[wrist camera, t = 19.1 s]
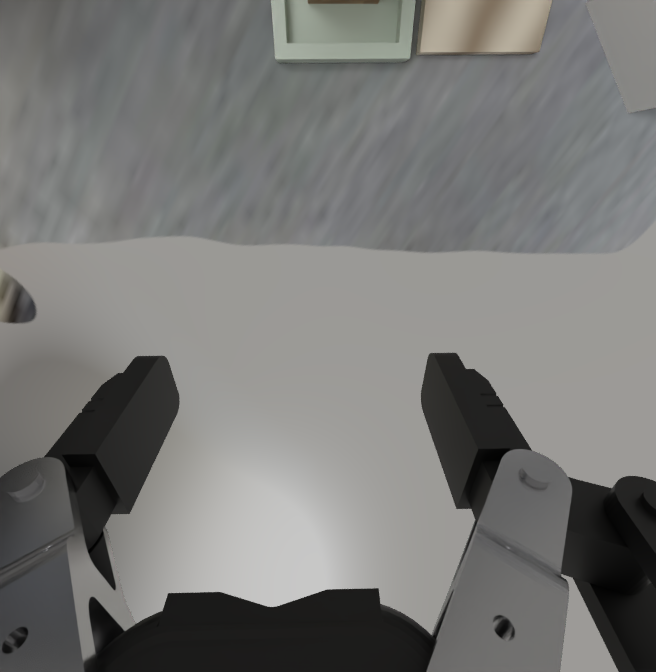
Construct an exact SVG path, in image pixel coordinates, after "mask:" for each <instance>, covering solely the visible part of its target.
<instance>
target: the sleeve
mask: <svg viewBox="0 0 656 672" xmlns="http://www.w3.org/2000/svg"><path fill="white" fill-rule="evenodd" d="M379 1H380V0H308V4H378V3H379Z"/></svg>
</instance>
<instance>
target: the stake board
mask: <svg viewBox="0 0 656 672" xmlns="http://www.w3.org/2000/svg"><path fill="white" fill-rule="evenodd" d="M551 4H552V0H422V1H421V11H420V21H419V30H418V40H417V50H416V55H481V54H533V53H536V52H539V51H540V47H541V43H542V39H543V35H544V31H545V27H546V23H547V19H548V15H549V11H550V8H551Z"/></svg>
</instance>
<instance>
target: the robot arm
mask: <svg viewBox="0 0 656 672" xmlns="http://www.w3.org/2000/svg"><path fill="white" fill-rule="evenodd" d="M421 404H422V409H423V413H424V415H425V418H426V421H427V424H428V427H429V430H430V433H431V436H432V439H433V442H434V445H435V447H436V450H437V453H438V456H439V459H440V462H441V465H442V468H443V471H444V474H445V477H446V480H447V482H448V485H449V488H450V491H451V494H452V497H453V500H454V503H455V506H456V508H457V509H468V508H469V509H472V511H473V514H474V517H475V522H474V524H473V527H472V530H471V532H470V535H469V538H468V540H467V543H466V546H465V548H464V551H463V554H462V557H461V559H460V562H459V565H458V567H457V570H456V573H455V575H454V578H453V581H452V583H451V586H450V589H449V591H448V594H447V596H446V599H445V602H444V604H443V606H442V609H441V612H440V614H439V617H438V619H437V622H436V625H435V627H434V630H433V632H432V635H430V634H429V633H428V632H427V631H426V630H425V629H424V628H423V627H422V626H420V625H419V624H418V623H417V622H415V621H414V620H413V619H411V618H409V617H408V616H406V615H405V614H403V613H401V612H399V611H397V610H395V609H392V608H390V607H387V606H385V605H382V604H380V597H379V589H378V588H376V589H333V590H325V591H322V592H319V593H316V594H313V595H310V596H307V597H304V598H301V599H298V600H295V601H292V602H289V603H286V604H283V605H280V606H277V607H267V606H263V605H260V604H257V603H254V602H251V601H247V600H244V599H241V598H238V597H234V596H231V595H228V594H224V593H221V592H204V593H169V594H168V596H167V599H166V602H165V605H164V608H163V611H161V612H158V613H156V614H154V615H152V616H150V617H148V618H145V619H144V620H142V621H140V622H139V623H137V624H135V621H134V619H133V616H132V614H131V612H130V610H129V608H128V606H127V603H126V601H125V598H124V595H123V591H122V587H121V583H120V579H119V575H118V571H117V566H116V562H115V558H114V554H113V550H112V546H111V542H110V538H109V534H108V531H107V529H106V527H105V525H106V523H107V521H108V519H109V517H110V515H111V514H130V512H131V510H132V507H133V505H134V503H135V501H136V499H137V497H138V495H139V493H140V490H141V488H142V486H143V484H144V482H145V480H146V478H147V476H148V474H149V472H150V470H151V467H152V465H153V463H154V461H155V459H156V457H157V455H158V453H159V451H160V448H161V446H162V444H163V442H164V440H165V438H166V436H167V434H168V432H169V430H170V427H171V425H172V423H173V421H174V419H175V417H176V415H177V412H178V409H179V393H178V390H177V387H176V384H175V381H174V378H173V375H172V371H171V368H170V365H169V362H168V360H167V358H166V357H165V356H137V357H135V358H134V359H133V361H132V362H131V363H130V365H129V366H128V367H127V369H126V370H125V371H124V372H123V373H118V374H116V375H115V376H114V377H112V378H111V379H110V380H108V381H107V382H105V383H104V384H103V385H101V387H100V388H99V389H98V390H97V392H96V393H95V394H94V395H93V397H92V398H91V401H89V402H88V403H87V404H86V406H85V407H84V408H83V409H82V413H79V414H78V415H77V417H76V418H75V419H74V421H73V422H72V423H71V424H70V425H69V427H68V428H67V429H66V430H65V432H64V433H63V434H62V435H61V437H60V438H59V439H58V441H57V442H56V443H55V444H54V445H53V447H52V448H51V449H50V450H49V452H48V453H47V454H46V455H45V457H43V458H37V459H34V460H30V461H28V462H25V463H23V464H21V465H19V466H17V467H15V468H13V469H11V470H10V471H8V472H7V473H6V474H4V475H3V476H2V477H1V478H0V672H560V666H561V658H562V649H563V642H564V633H565V625H566V616H567V608H568V599H569V586H568V582H567V580H566V579H564V578H563V577H561V574H563V575H566V576H569V577H573V579H574V581H575V583H576V585H577V587H578V589H579V591H580V593H581V596H582V597H583V600H584V601H585V603H586V606H587V608H588V610H589V612H590V614H591V616H592V618H593V620H594V622H595V624H596V626H597V628H598V630H599V632H600V634H601V636H602V638H603V641H604V642H605V644H606V647H607V649H608V651H609V653H610V655H611V656H612V659H613V661H614V663H615V665H616V667H617V669H618V671H619V672H656V482H655V481H653V480H650V479H646V478H643V477H638V476H626V477H623V478H621V479H619V480H618V481H617V483H616V484H615V485H614V487H613V488H608V487H604V486H600V485H596V484H592V483H588V482H584V481H580V480H576V479H573V478H570V477H567V475H566V473H565V472H564V471H563V470H562V468H561V467H559V466H558V465H557V464H556V463H555V462H554V461H552V460H551V459H549V458H548V457H546V456H544V455H541V454H540V453H537V452H535V451H532V450H531V448H530V447H529V445H528V443H527V442H526V440H525V439H524V437H523V436H522V434H521V432H520V431H519V429H518V427H517V426H516V424H515V423H514V421H513V419H512V418H511V416H510V415H509V413H508V411H507V410H506V409H505V407H503V403H502V402H501V400H500V399H499V397H498V396H496V392H495V391H494V389H493V388H492V387H491V384H490V383H489V381H488V380H487V379H486V378H484V377H483V376H482V375H481V374H479V373H478V372H477V371H476V370H475V369H466V368H465V367H464V365H463V363H462V361H461V360H460V358H459V356H458V355H457V354H456V353H430V354H429V356H428V360H427V365H426V370H425V375H424V381H423V385H422V390H421Z"/></svg>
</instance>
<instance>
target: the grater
mask: <svg viewBox="0 0 656 672" xmlns="http://www.w3.org/2000/svg"><path fill="white" fill-rule="evenodd" d="M586 6H587V9H588V11H589V14H590V16H591V19H592V22H593V24H594V27H595V29H596V32H597V35H598V37H599V40H600V42H601V45H602V48H603V50H604V53H605V55H606V58H607V60H608V63H609V66H610V68H611V71H612V73H613V76H614V79H615V81H616V84H617V86H618V89H619V92H620V94H621V97H622V99H623V102H624V105H625V107H626V110H627V112H628V113H633V112H638V111H643V110H648V109H652V108H656V0H588V1H587V2H586Z"/></svg>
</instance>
